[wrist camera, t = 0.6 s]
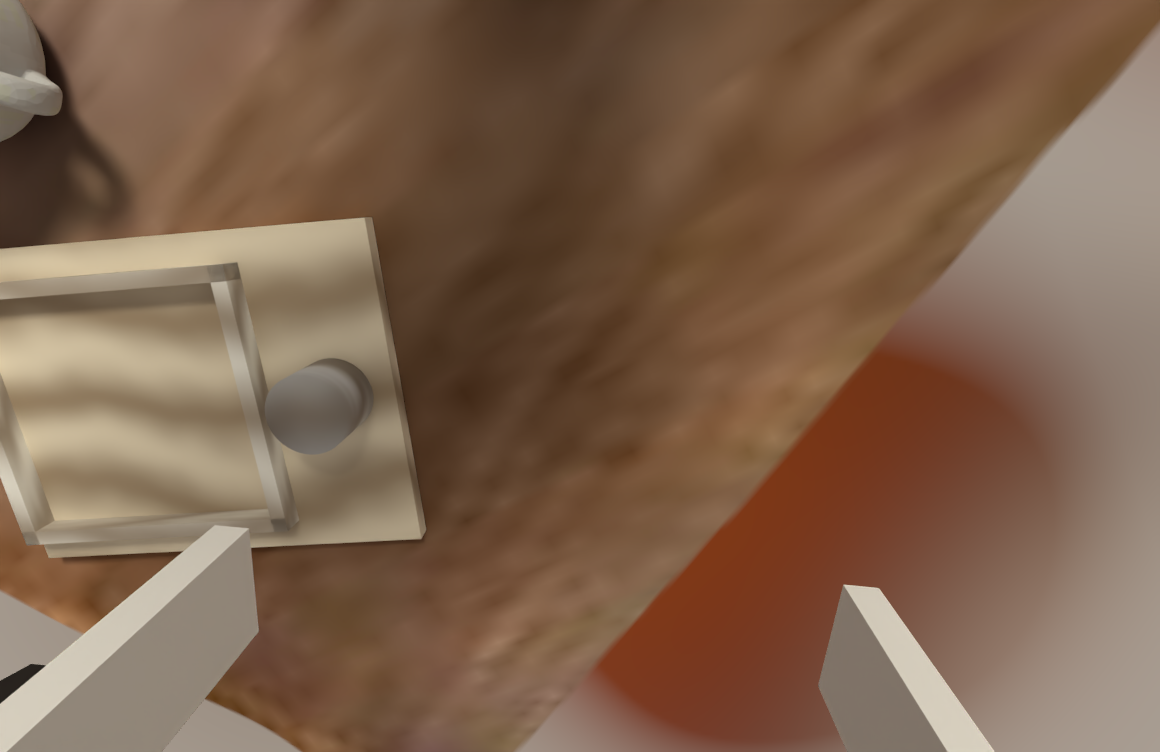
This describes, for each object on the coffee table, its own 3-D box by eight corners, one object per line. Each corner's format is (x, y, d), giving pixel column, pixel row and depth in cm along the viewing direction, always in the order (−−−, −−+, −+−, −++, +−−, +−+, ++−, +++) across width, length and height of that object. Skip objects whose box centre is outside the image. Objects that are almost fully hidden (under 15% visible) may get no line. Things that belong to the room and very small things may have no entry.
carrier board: (-46, 253, 38) (-145, 260, 33) (372, 217, 36) (335, 218, 31) (63, 548, 44) (-6, 592, 39) (426, 529, 42) (402, 572, 37)
